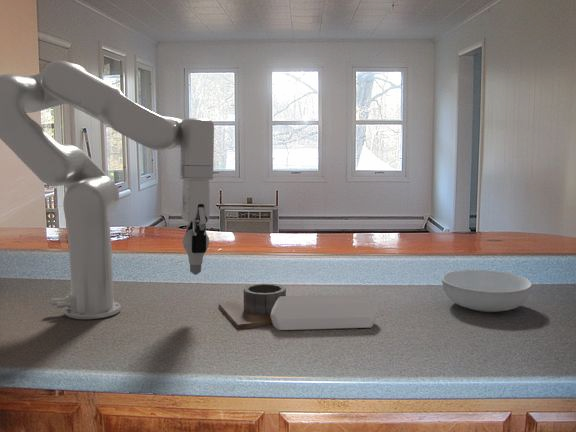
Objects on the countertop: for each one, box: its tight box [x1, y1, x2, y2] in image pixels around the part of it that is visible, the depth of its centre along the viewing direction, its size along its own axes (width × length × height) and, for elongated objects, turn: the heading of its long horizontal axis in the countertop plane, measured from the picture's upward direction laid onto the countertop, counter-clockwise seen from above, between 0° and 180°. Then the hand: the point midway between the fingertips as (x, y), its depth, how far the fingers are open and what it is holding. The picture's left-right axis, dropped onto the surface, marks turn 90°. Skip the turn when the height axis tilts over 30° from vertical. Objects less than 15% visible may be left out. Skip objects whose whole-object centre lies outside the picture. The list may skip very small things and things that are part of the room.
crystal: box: [270, 293, 378, 331], centre depth 145 cm, size 7×7×24 cm
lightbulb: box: [182, 228, 210, 276], centre depth 152 cm, size 6×6×11 cm
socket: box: [218, 282, 287, 330], centre depth 153 cm, size 18×18×6 cm
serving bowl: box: [441, 269, 533, 313], centre depth 158 cm, size 21×21×7 cm
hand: (195, 249), depth 152 cm, fingers closed on lightbulb, 6 cm apart
